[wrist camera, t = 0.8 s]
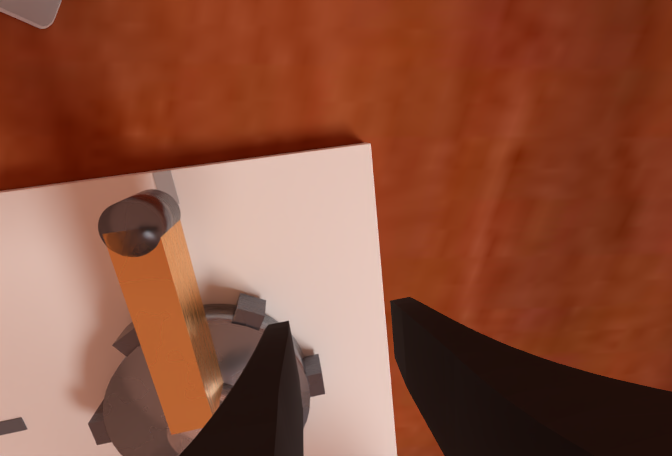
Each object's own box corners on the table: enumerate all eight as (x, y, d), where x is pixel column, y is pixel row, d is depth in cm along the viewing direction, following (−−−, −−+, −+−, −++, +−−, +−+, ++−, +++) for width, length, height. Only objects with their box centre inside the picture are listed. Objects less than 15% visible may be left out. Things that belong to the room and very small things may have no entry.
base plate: (392, 451, 24) (398, 468, 23) (66, 534, 22) (54, 558, 20) (364, 142, 18) (370, 143, 17) (-107, 205, 15) (-140, 211, 14)
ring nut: (330, 431, 21) (344, 507, 17) (138, 477, 20) (100, 573, 16) (288, 165, 16) (292, 177, 12) (27, 200, 15) (-74, 229, 11)
